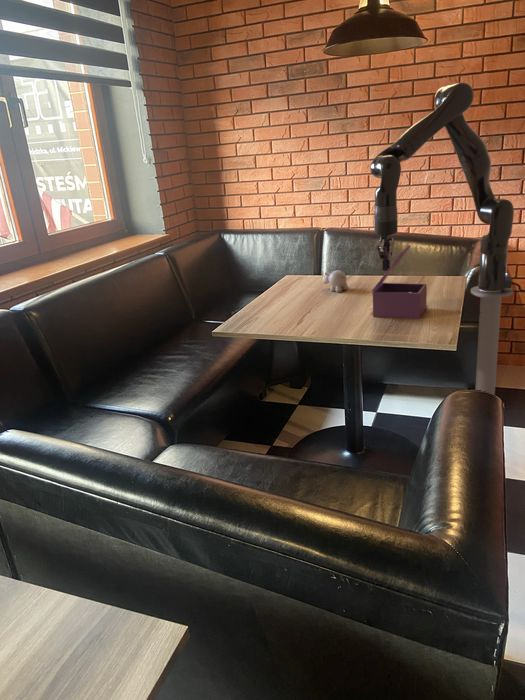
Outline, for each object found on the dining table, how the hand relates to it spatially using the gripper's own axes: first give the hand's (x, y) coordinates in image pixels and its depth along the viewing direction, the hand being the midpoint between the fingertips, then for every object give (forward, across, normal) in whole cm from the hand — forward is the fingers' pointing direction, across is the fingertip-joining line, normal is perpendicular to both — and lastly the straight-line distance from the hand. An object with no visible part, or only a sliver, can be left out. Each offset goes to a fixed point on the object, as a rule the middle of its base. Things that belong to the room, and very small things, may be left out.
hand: (386, 270), depth 184 cm
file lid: (-1, 0, -2) cm, 2 cm away
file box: (+15, 0, -5) cm, 16 cm away
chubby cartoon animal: (+15, +26, +28) cm, 41 cm away
